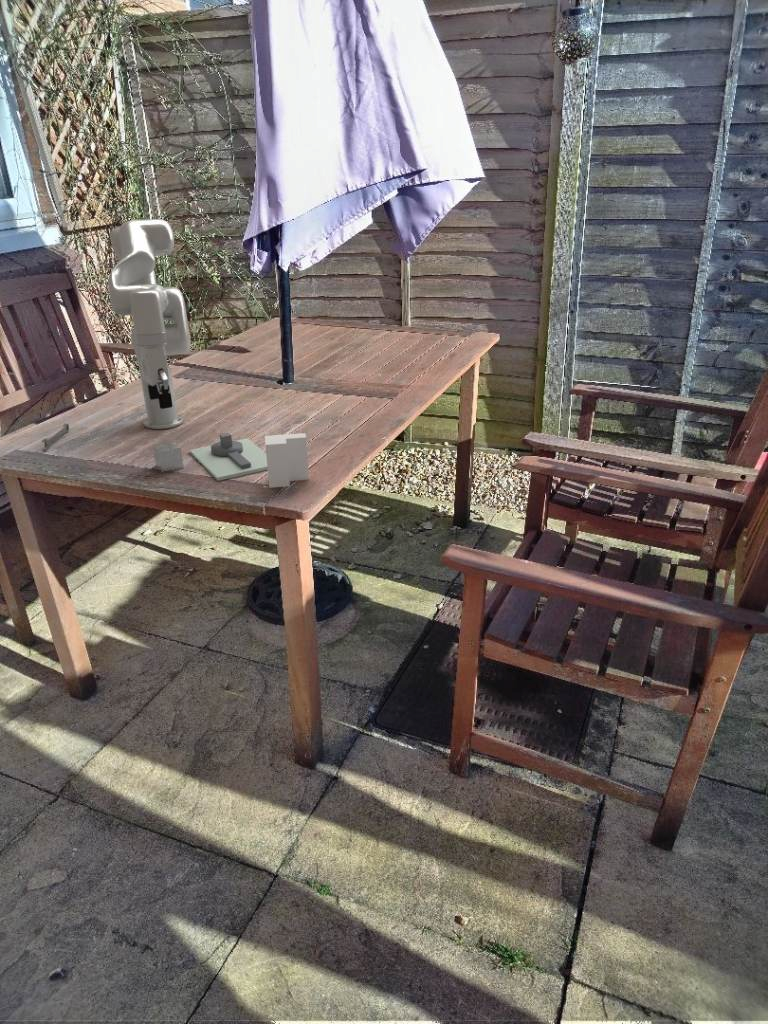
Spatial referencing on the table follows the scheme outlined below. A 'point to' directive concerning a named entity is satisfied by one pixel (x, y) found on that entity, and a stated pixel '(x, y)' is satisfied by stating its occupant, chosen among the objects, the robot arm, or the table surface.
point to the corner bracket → (286, 459)
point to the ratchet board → (231, 458)
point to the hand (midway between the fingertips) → (161, 403)
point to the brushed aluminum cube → (168, 456)
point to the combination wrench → (55, 437)
